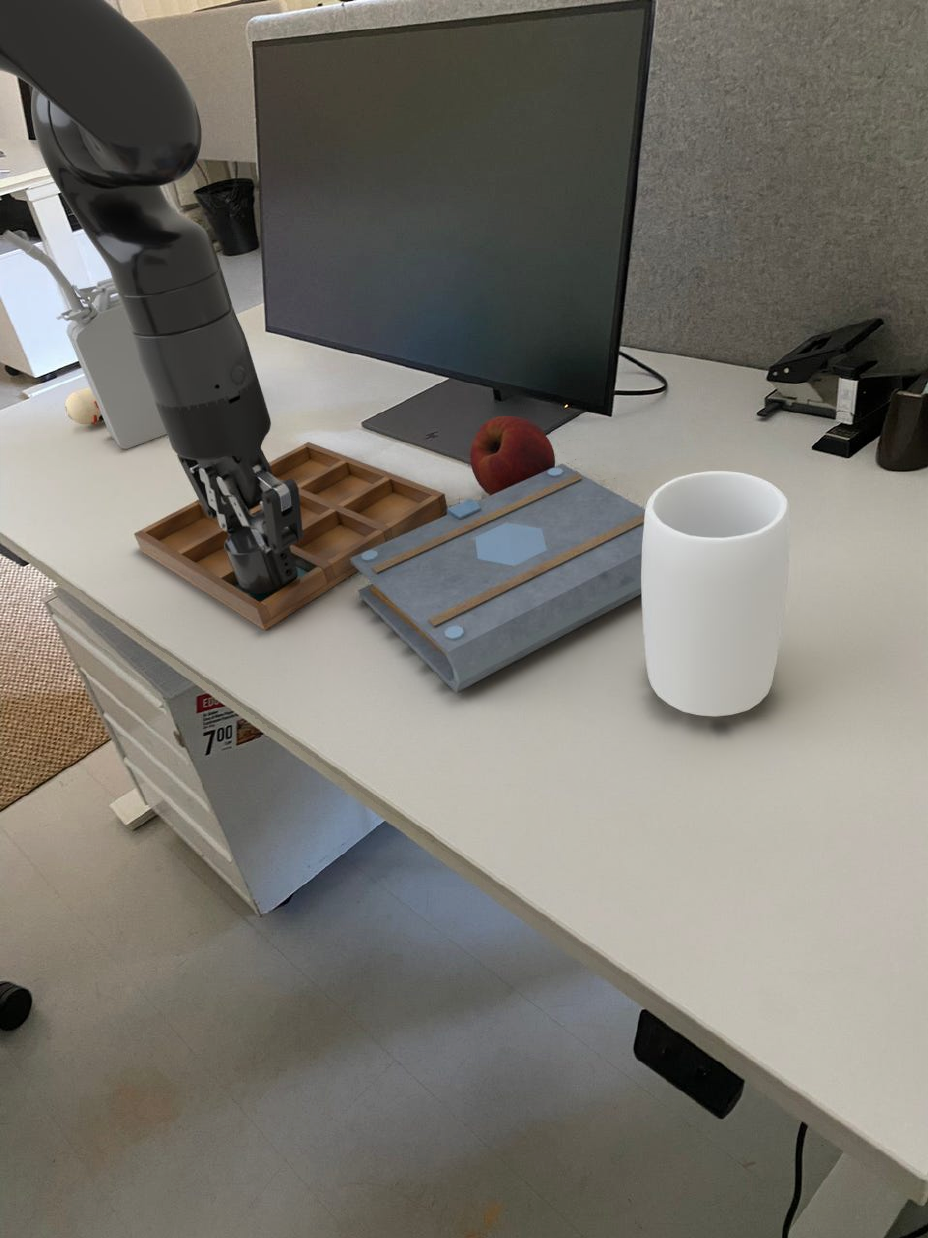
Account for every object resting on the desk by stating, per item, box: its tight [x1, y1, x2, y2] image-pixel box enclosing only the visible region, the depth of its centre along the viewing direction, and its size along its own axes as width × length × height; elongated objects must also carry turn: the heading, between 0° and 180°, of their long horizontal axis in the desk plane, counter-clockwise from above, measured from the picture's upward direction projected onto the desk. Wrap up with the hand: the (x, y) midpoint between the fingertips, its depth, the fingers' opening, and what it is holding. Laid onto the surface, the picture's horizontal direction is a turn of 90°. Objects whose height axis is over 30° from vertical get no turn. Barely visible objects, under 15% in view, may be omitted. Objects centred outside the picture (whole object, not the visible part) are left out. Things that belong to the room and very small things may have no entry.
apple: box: [469, 415, 556, 496], centre depth 79 cm, size 7×8×8 cm
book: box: [350, 463, 646, 693], centre depth 68 cm, size 21×16×5 cm
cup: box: [641, 470, 790, 717], centre depth 54 cm, size 8×8×14 cm
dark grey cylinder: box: [224, 525, 277, 594], centre depth 72 cm, size 4×4×4 cm
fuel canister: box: [1, 229, 167, 450], centre depth 98 cm, size 15×5×25 cm, turn 123°
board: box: [133, 441, 448, 631], centre depth 81 cm, size 21×21×2 cm
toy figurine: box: [64, 386, 104, 425], centre depth 110 cm, size 8×4×12 cm
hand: (269, 572), depth 73 cm, fingers closed on dark grey cylinder, 4 cm apart
